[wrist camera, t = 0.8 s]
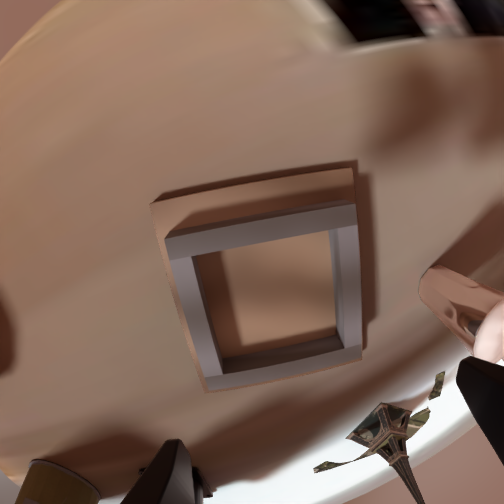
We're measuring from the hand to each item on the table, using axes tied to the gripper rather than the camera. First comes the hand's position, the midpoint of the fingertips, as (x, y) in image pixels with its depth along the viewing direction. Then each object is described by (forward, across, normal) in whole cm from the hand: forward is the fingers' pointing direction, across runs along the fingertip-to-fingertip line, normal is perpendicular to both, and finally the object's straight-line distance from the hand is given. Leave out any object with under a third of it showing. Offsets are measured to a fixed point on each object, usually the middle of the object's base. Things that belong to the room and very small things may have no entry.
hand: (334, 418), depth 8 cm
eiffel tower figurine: (+13, -8, +20) cm, 25 cm away
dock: (+13, 0, +1) cm, 13 cm away
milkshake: (+13, -13, +5) cm, 19 cm away
